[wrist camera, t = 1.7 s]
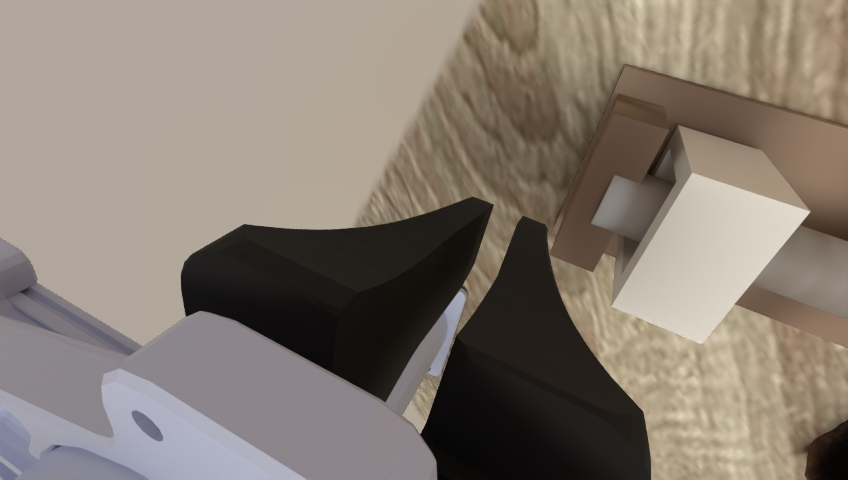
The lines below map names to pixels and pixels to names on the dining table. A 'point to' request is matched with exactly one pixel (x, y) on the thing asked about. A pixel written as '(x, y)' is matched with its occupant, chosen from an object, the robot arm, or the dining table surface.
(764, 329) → the dining table surface
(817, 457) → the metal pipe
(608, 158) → the rail
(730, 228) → the collar
